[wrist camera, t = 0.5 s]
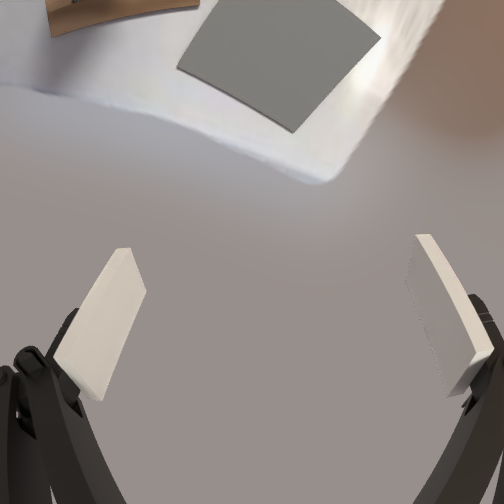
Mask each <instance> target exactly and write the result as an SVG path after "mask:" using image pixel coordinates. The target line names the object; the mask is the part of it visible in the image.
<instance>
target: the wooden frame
mask: <svg viewBox="0 0 504 504" xmlns="http://www.w3.org/2000/svg"><path fill="white" fill-rule="evenodd" d="M45 1H46V8H47V14H48V20H49V26H50V31H51V37H55V36H58V35H61V34H64V33H67V32H70V31H73V30H76V29H79V28H83V27H86V26H90V25H93V24H97V23H100V22H104V21H108V20H112V19H116V18H121V17H125V16H130V15H135V14H140V13H145V12H151V11H157V10H163V9H170V8H177V7H185V6H194V5H200V0H82V1H79V2H76V3H74V2H73V0H45Z"/></svg>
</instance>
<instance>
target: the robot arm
mask: <svg viewBox="0 0 504 504" xmlns="http://www.w3.org/2000/svg"><path fill="white" fill-rule="evenodd" d="M405 283H406V285H407V287H408V290H409V292H410V295H411V297H412V299H413V302H414V304H415V307H416V309H417V312H418V314H419V317H420V320H421V322H422V325H423V327H424V330H425V333H426V336H427V338H428V341H429V344H430V347H431V350H432V352H433V355H434V358H435V361H436V364H437V367H438V370H439V373H440V377H441V380H442V383H443V386H444V390H445V393H446V396H447V397H451V396H456V395H460V394H463V393H464V392H465V391H466V389H467V388H468V387H469V385H470V387H471V390H472V394H471V395H470V396H469V398H468V399H467V400H466V401H465V402H464V404H463V405H462V407H465V408H464V411H463V413H462V415H461V417H460V420H459V422H458V424H457V426H456V428H455V430H454V432H453V434H452V436H451V439H450V440H449V442H448V444H447V446H446V448H445V450H444V452H443V454H442V456H441V458H440V460H439V461H438V463H437V465H436V467H435V468H434V470H433V472H432V474H431V475H430V477H429V479H428V480H427V482H426V484H425V485H424V487H423V489H422V490H421V492H420V493H419V495H418V496H417V498H416V499H415V501H414V502H413V504H479V503H480V501H481V499H482V497H483V495H484V493H485V491H486V489H487V487H488V485H489V482H490V480H491V478H492V476H493V473H494V471H495V469H496V466H497V464H498V461H499V459H500V456H501V454H502V451H503V457H502V462H501V467H500V473H499V478H498V482H497V487H496V491H495V495H494V499H493V503H492V504H504V450H503V448H504V340H503V338H502V336H501V334H500V332H499V330H498V328H497V326H496V324H495V322H493V318H492V317H491V315H490V314H489V311H488V309H487V307H486V306H485V304H484V303H483V301H482V300H481V299H480V298H479V297H478V296H476V295H475V294H471V295H467V294H466V292H465V290H464V289H463V287H462V285H461V283H460V282H459V280H458V278H457V276H456V275H455V273H454V271H453V270H452V268H451V266H450V265H449V263H448V261H447V260H446V258H445V257H444V255H443V254H442V252H441V250H440V249H439V247H438V246H437V244H436V242H435V241H434V239H433V238H432V237H431V235H430V234H420V235H415V240H414V245H413V250H412V255H411V259H410V263H409V268H408V272H407V276H406V280H405ZM145 294H146V289H145V286H144V284H143V281H142V278H141V276H140V273H139V271H138V268H137V265H136V262H135V260H134V257H133V254H132V251H131V249H130V248H119V249H116V251H115V252H114V254H113V255H112V257H111V258H110V260H109V261H108V263H107V265H106V266H105V268H104V269H103V271H102V272H101V274H100V276H99V277H98V279H97V280H96V282H95V284H94V285H93V287H92V289H91V290H90V292H89V294H88V295H87V297H86V299H85V300H84V302H83V304H82V305H81V307H80V308H75V309H74V310H73V311H72V312H71V313H70V314H69V315H68V316H67V318H66V319H65V321H64V323H63V325H62V327H61V328H60V330H59V332H58V334H57V335H56V337H55V339H54V341H53V343H52V344H51V347H50V348H49V350H48V352H47V354H46V356H45V357H44V356H43V355H42V354H41V352H40V351H39V350H38V348H36V347H35V346H27V347H25V348H23V349H22V350H20V351H19V353H18V354H17V355H16V357H15V359H14V363H13V366H14V367H15V368H16V369H17V370H18V371H19V372H17V373H15V372H14V371H13V370H12V369H11V368H10V367H9V366H2V367H0V504H52V497H51V490H50V486H51V489H52V492H53V494H54V497H55V500H56V502H57V504H126V502H125V500H124V498H123V496H122V494H121V492H120V491H119V489H118V487H117V485H116V483H115V481H114V479H113V477H112V475H111V473H110V470H109V468H108V466H107V464H106V462H105V460H104V457H103V455H102V453H101V451H100V448H99V446H98V444H97V441H96V439H95V436H94V434H93V431H92V429H91V426H90V424H89V421H88V418H87V416H86V413H85V410H84V408H83V405H82V402H81V400H80V398H79V397H78V395H79V393H80V391H81V392H82V393H83V394H84V395H85V396H86V397H87V398H89V399H94V400H99V401H102V400H103V398H104V395H105V392H106V389H107V387H108V384H109V381H110V379H111V376H112V374H113V371H114V368H115V366H116V363H117V361H118V358H119V356H120V353H121V350H122V348H123V346H124V343H125V341H126V338H127V335H128V333H129V331H130V329H131V326H132V324H133V322H134V319H135V317H136V314H137V312H138V310H139V308H140V305H141V303H142V301H143V298H144V296H145ZM465 405H466V406H465ZM16 411H17V412H18V418H16Z"/></svg>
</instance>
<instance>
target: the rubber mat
mask: <svg viewBox="0 0 504 504" xmlns="http://www.w3.org/2000/svg"><path fill="white" fill-rule="evenodd" d="M380 39H381V37H380V36H379V35H377V34H376V33H375V32H374V31H373V30H372V29H371V28H369V27H368V26H367V25H366V24H365V23H364V22H362V21H361V20H360V19H359V18H358V17H356V16H355V15H354V14H353V13H351V12H350V11H349V10H348V9H346V8H345V7H344V6H343V5H341V4H340V3H339V2H337V1H336V0H219V1H218V3H217V4H216V5H215V7H214V8H213V10H212V11H211V13H210V14H209V16H208V17H207V19H206V20H205V22H204V23H203V25H202V26H201V28H200V29H199V31H198V32H197V34H196V35H195V37H194V38H193V40H192V42H191V43H190V45H189V46H188V48H187V50H186V51H185V53H184V55H183V56H182V58H181V60H180V61H179V63H178V65H177V67H179V68H181V69H183V70H185V71H187V72H189V73H191V74H193V75H195V76H197V77H199V78H201V79H203V80H205V81H207V82H208V83H210V84H212V85H214V86H216V87H218V88H220V89H222V90H223V91H225V92H227V93H229V94H231V95H232V96H234V97H236V98H238V99H240V100H241V101H243V102H245V103H247V104H248V105H250V106H252V107H253V108H255V109H257V110H258V111H260V112H262V113H263V114H265V115H267V116H268V117H270V118H272V119H273V120H275V121H277V122H278V123H280V124H281V125H283V126H285V127H286V128H288V129H289V130H291V131H292V132H294V133H295V131H296V130H297V129H298V128H299V127H300V126H301V125H302V123H303V122H304V121H305V120H306V119H307V118H308V117H309V116H310V114H311V113H312V112H313V111H314V110H315V109H316V108H317V107H318V105H319V104H320V103H321V102H322V101H323V100H324V99H325V98H326V97H327V95H328V94H329V93H330V92H331V91H332V90H333V89H334V88H335V87H336V86H337V84H338V83H339V82H340V81H341V80H342V79H343V78H344V77H345V76H346V75H347V74H348V73H349V71H350V70H351V69H352V68H353V67H354V66H355V65H356V64H357V63H358V62H359V61H360V60H361V59H362V58H363V57H364V55H365V54H366V53H367V52H368V51H369V50H370V49H371V48H372V47H373V46H374V45H375V44H376V43H377V42H378V41H379V40H380Z"/></svg>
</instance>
